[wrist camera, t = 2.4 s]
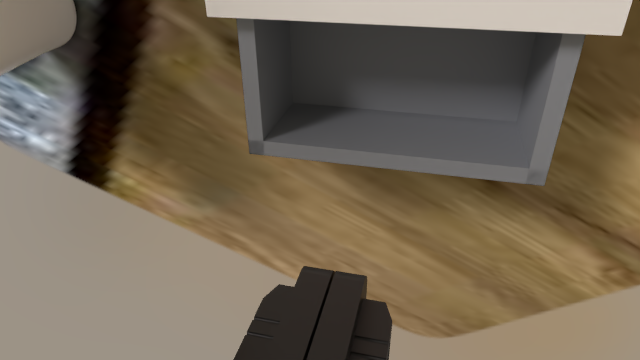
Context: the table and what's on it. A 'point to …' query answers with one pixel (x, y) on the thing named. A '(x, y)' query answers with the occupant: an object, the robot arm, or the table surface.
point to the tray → (407, 96)
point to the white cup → (33, 29)
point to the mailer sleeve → (442, 13)
